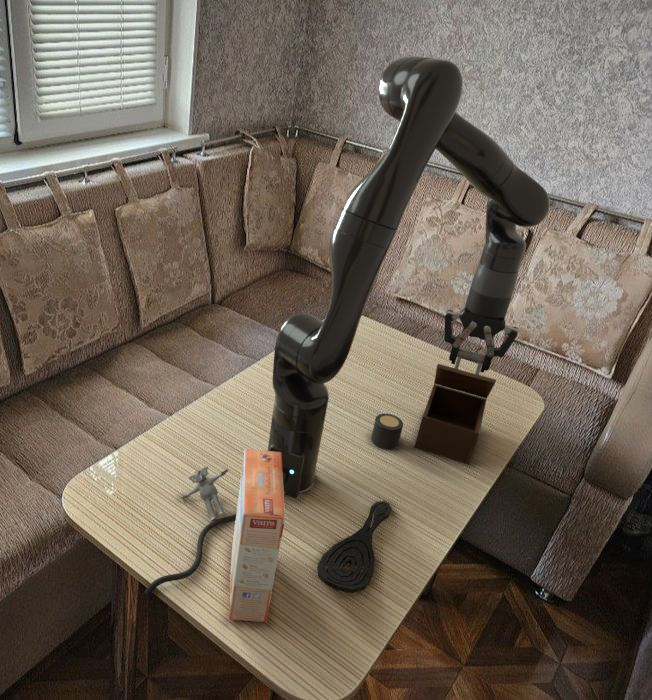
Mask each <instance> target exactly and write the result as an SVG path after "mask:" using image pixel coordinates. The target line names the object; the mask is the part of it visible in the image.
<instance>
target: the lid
mask: <svg viewBox="0 0 652 700" xmlns="http://www.w3.org/2000/svg"><path fill="white" fill-rule="evenodd" d="M484 358H485V354H482V353H479V352H474V351H471V350H467V349H463V348H459V351H458V355H457V358H456V362H455V365H454V367H451V366H448V365H444V364H441V363H437V365H436V368H435V374H434V381H433V385H434V384H436V385H440V386H443V387H447V388H450V389H454V390H457V391H461V392H464V393H468V394H471V395H475V396H478V397H482V398H485V399H488V397H489V396H490V394H491V392H492V390H493V389H494V386H495V385H496V382H497V379H495V378H492V377H488V376H484V375H481V374H480V373H481V372H480V371H481V367H482V364H483V362H484ZM462 360H464V361H465V360H466V361H469V362H473V363H477V366H476V369H475V372H474V373H473V372H469V371H466V370H462V369H459V367H460V363H461V361H462Z"/></svg>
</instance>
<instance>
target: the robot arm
mask: <svg viewBox="0 0 652 700" xmlns="http://www.w3.org/2000/svg"><path fill="white" fill-rule="evenodd" d="M463 84H464V82H463V75H462V71H461V69H460V68H459V67H458V65H457V64H455V63H454V62H452V61H450V60H447V59H442V58H436V57H427V56H417V55H412V56H409V55H408V56H402V57H399V58H396V59H395V60H393V61H392V62H391V63H389V64H388V65H387V66H386V68H385V69H384V70H383V72H382V74H381V76H380V78H379V81H378V90H377V91H378V93H377V94H378V99H379V102H380V105H381V107H382V108H383V110H384V112H386V113H387V114H388V115H389V116H390V117H391V118H393V119H394V120H396V121H398V122H399V124H398V127H397V128H396V132H395V133H394V135H393V138H392V140H391V142H390V144H389V146H388V148H387V150H386V151H385V154H383V155H382V157H381V158H380V160H378V162H377V163H376V164H375V165H374V166H373V167H372V168H371V169H370V170H369V171H368V172H367V173H366V174H365V175H364V176H363V177H362V178H361V179H360V180H359V182H358V183H357V184H356V185H355V186H354V187H353V188H352V189H351V190H350V192H349V193H348V195H347V196H346V198H345V200H344V202H343V204H342V207H341V209H340V211H339V213H338V216H337V218H336V221H335V224H334V226H333V228H332V231H331V234H330V237H329V238H330V239H329V265H330V266H329V267H330V280H331V282H330V283H331V290H330V291H331V292H330V293H331V294H330V299H329V303H328V307H327V310H326V313H325V316H324V317H323V320H321V319H320V318H319V317H317V316H316V315H313V314H311V313H309V312H297V313H295V314H292V315H290V316H289V317H288V318H287V319H286V321H284V323H283V324H282V326H281V328H280V329H279V331H278V333H277V337H276V340H275V344H274V345H275V346H274V352H273V366H272V367H273V369H272V378H271V379H272V381H271V382H272V388H273V392H274V399H273V400H274V401H273V409H272V415H271V422H270V430H269V436H268V437H269V438H268V445H267V451H273V452H281V453H282V470H283V489H284V496H287V497H290V498H292V499H297V498H298V497H299V496H300V495H305V494H306V493H308V492H309V491H310V490H311V489H312V488H313V487H314V484H315V476H316V475H315V474H316V470H317V463H318V459H319V453H320V448H321V442H322V438H323V437H322V436H323V432H324V426H325V422H326V416H327V410H328V405H329V399H330V395H329V391H328V388H327V386H326V385H325V384H326V383H329V382H330V381H331V380H333V379H334V378H335V377H336V376H337V375H338V374H339V372H340V371H341V369H342V368H343V366H344V365H345V363H346V361H347V358H348V356H349V354H350V351H351V349H352V346H353V342H354V340H355V336H356V333H357V331H358V329H359V328H358V327H359V324H360V321H361V319H362V315H363V313H364V309H365V306H366V303H367V301H368V300H369V299H368V298H369V296H370V293H371V291H372V288H373V287H374V283H375V281H376V278H377V276H378V274H379V272H380V269H381V267H382V265H383V263H384V261H385V259H386V256H387V254H388V253H389V250H390V248H391V247H392V244H393V241H394V239H395V237H396V235H397V232H398V230H399V228H400V224H401V223H402V219H403V217H404V214H405V212H406V210H407V207H408V205H409V203H410V201H411V199H412V197H413V195H414V193H415V190H416V189H417V186H418V184H419V182H420V179H421V178H422V175H423V173H424V171H425V168H426V167H427V166H428V164H429V162H430V159H432V156H433V154H434V152H435V150H436V151H438V153H440V154H441V155H442V157H444V158H445V159H446V160H447V161H448V162H449V163H450V164H451V165H453V166H454V168H455V169H456V170H457V171H458V172H459V173H460V174H461V175H462V176H463V178H465V179H466V180H467V181H468V183H470V185H472V186H473V188H474V189H475V190H477V192H479V193H480V194H481V195H483V197H486V198H487V200H486V207H485V243H484V245H483V249H482V252H481V255H480V259H479V261H478V265H477V267H476V269H475V271H474V274H473V277H472V279H471V284H470V286H469V287H470V288H469V291H468V294H467V298H466V301H465V304H464V308H463V309H461V311H458V312H457V311H453V310H452V309H448V310H446V313H445V315H444V338H443V339H444V340H443V341H444V342H445V343H449V344H450V345H451V349H450V353H449V356H448V361H450V364H451V365H454V366H455V364H456V361H457V358H458V357H457V355H458V351H459V349H461V345H462V344H463V342H464V341H466V339H467V338H468V337H471V338H478V339H479V340H482V341H485V347H486V352H485V354H484V355H485V358H484V362H483V364H482V366H481V369H480V372H479V373H482V374H484V373H485V372H488V371H489V370H490V367H491V364H492V361H493V358H494V357H499V358H503V357H504V356H505V355H506V353H507V352H508V350H510V347H511V346H512V344H513V343H514V341H515V340H516V338H517V337H518V334H519V328H518V327H517V326H510V325H509V324H507V322H506V316H507V313H508V310H509V306H510V303H511V302H512V301H511V300H512V298H513V294H514V292H515V288H516V285H517V282H518V276H519V271H520V268H521V266H522V262H523V258H524V256H525V253H526V248H527V242H526V241H525V239H524V238H523V236H521V235H520V233H519V232H518V230H517V226H519V227H521V228H532V227H535V226H538V225H540V224H541V223H542V222H544V221H545V219H546V218H547V216H548V215H549V212H550V208H551V199H550V196H549V194H548V192H547V190H546V189H545V188H544V187H543V186H542V185H541V184H540V183H539V182H538V181H536V180H535V179H534V178H533V177H532V176H531V175H529V174H528V173H526V172H525V171H523V170H522V169H521V168H520V167H518V166H517V165H516V163H515V162H514V161H513V159H511V158H510V156H509V155H508V154H507V153H506V152H505V150H504V149H503V148H502V147H501V146H500V145H499V144H498V143H497V142H496V140H494V139H493V138H492V137H491V136H490V135H488V134H487V133H486V132H484V131H483V130H481V129H480V128H478V127H477V126H475V125H474V124H473V123H471V122H469V121H468V120H467V119H465V118H464V117H463V116H462V115H460V114H459V112H457V109H458V107H459V105H460V102H461V98H462V94H463ZM458 319H459V320H460V323H461V325H462V329H461V330H460V332H459V333H458V334H457V336H455V335H454V334H453V333H454V332H453V331H454V324H456V322H457V320H458ZM502 331H504V334H503V336H504V339H503V341H502V342H501V344H500V345H499V347H496V346H495V336H496V335H498V334H499V333H500V332H502ZM233 521H236V513H234V514H230V515H227V516H224V517H221V518H217V520H215V521H211V522H209V523H208V524H207V525H206V526H205V527H204V528H203V529H202V530H201V531H200V534H199V535H198V538H197V545H196V556H195V559H194V562H193V564H192V565H191V566H190V567H189V568H188V569H187V570H185V571H182V572H178V573H172V574H166V575H162V576H161V577H158V578H156V579H155V580H153V581H152V582H150V584H149V585H148V586H147V588H146V589H145V591H144V594H145V595H151V594H152V593H153V591H154V590H155V589H156V588H157V587H159V586H160V585H162V584H165V583H167V582H174V581H179V580H184V579H186V578H188V577H190V576H192V575H193V574H194V573H195V572H196V571H197V570H198V569H199V566H200V565H201V563H202V559H203V551H204V542H205V538H206V536H207V534H208V533H209V532H210V531H211V530H212V529H213V528H215V527H217V526H220V525H223V524H226V523H229V522H233Z"/></svg>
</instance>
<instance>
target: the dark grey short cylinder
mask: <svg viewBox="0 0 652 700" xmlns="http://www.w3.org/2000/svg"><path fill="white" fill-rule="evenodd" d="M403 427H404V422H403V421H402V418H400V417H398V415H395V414H391V413H380V414H378V415H376V416H375V419H374V423H373V427H372V433H371V437H370V440H371V443H372V444H373V445H374V446H375V447H378V448H380V449H382V450H395V449H396V448H397V447H398V446H399V444H400V443H399V442H400V439H401V435H402V431H403Z"/></svg>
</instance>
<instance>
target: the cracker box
mask: <svg viewBox="0 0 652 700" xmlns="http://www.w3.org/2000/svg"><path fill="white" fill-rule="evenodd" d="M237 497H238V498H237V506H236V513H235V514H236V520H234V527H233V528H234V529H233V536H232V543H231V555H230V556H231V557H230V577H229V578H230V580H229V581H230V582H229V605H228V606H229V608H228V609H229V611H228V620H230V621H231V620H232V621H243V622H246V621H247V622H255V623H267V621H268V615H269V610H270V605H271V600H272V593H273V587H274V582H275V576H276V572H277V565H278V560H279V559H278V558H279V553H280V549H281V544H282V543H281V542H282V538H283V532H284V526H285V522H286V510H285V507H286V506H285V495H284V489H283V470H282V453H281V452H273V451H268V450H259V449H250V448H249V449H248V448H244V451H243V457H242V465H241V473H240V482H239V490H238V496H237Z"/></svg>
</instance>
